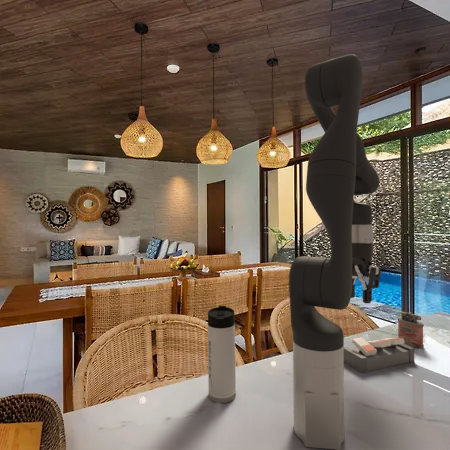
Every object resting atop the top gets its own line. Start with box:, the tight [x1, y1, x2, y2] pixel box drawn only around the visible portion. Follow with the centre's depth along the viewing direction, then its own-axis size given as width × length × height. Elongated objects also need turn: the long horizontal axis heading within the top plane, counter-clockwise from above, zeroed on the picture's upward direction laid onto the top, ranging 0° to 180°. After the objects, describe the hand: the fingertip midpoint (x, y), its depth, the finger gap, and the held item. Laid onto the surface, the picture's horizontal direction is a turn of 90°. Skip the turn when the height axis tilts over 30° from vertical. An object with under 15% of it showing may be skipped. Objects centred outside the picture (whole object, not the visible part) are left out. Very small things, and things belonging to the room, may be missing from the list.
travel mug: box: [207, 305, 237, 404], centre depth 71 cm, size 6×7×20 cm
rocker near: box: [351, 336, 377, 356], centre depth 86 cm, size 3×6×1 cm, turn 19°
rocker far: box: [378, 337, 405, 345], centre depth 89 cm, size 3×6×1 cm, turn 19°
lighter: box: [397, 311, 425, 350], centre depth 99 cm, size 8×3×10 cm, turn 25°
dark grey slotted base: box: [344, 343, 415, 373], centre depth 87 cm, size 18×7×4 cm, turn 109°
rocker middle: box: [367, 339, 391, 347], centre depth 87 cm, size 3×6×1 cm, turn 19°
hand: (358, 299), depth 87 cm, fingers open, 5 cm apart
